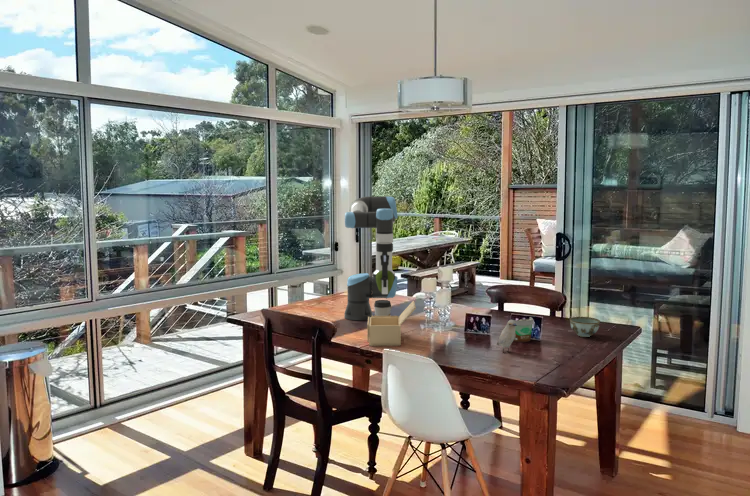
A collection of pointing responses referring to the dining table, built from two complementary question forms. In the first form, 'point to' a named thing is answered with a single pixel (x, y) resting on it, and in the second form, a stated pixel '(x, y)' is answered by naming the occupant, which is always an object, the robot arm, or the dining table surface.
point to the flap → (407, 312)
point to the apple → (379, 282)
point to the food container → (523, 330)
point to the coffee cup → (382, 308)
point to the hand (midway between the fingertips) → (384, 292)
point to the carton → (384, 331)
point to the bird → (507, 335)
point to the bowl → (584, 326)
